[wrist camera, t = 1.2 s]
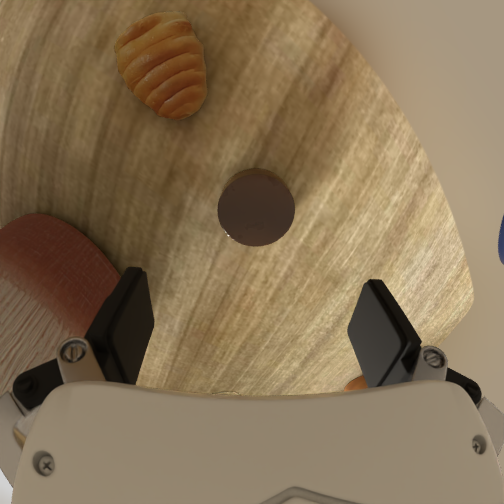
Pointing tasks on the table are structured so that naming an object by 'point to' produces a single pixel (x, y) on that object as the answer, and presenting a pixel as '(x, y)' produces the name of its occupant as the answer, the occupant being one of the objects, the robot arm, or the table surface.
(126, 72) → the pastry
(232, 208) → the walnut chip
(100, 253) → the planter
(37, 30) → the table surface
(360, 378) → the chip pile
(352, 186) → the table surface
